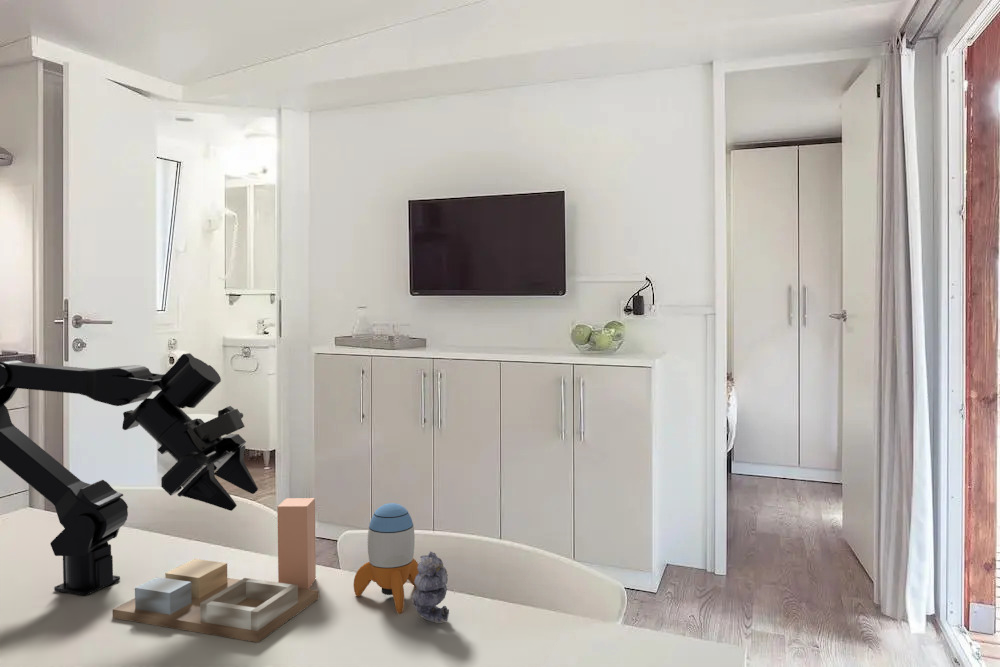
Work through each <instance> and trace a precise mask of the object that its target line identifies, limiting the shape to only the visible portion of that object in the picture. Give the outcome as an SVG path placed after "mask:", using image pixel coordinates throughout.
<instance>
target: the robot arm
mask: <svg viewBox="0 0 1000 667" xmlns="http://www.w3.org/2000/svg"><path fill="white" fill-rule="evenodd" d="M221 381H222V379H221V376H220V374H219V373H218V372H217V370H216V369H215V368H214V367H213V366H211V364H210V365H209V364H208V363H206V362H204V361H203V360H201V359H200V358H197V357H195V356H193V354H192V353H183V354H182V355H180V356H179V358H178V359H177V360H176V362H175V363H174V365H172V367H170V368H169V369H168V370H167V372H166V373H165V374H162V373H161V374H160V373H154V372H151V371H150V368H148V367H146V366H145V365H140V364H134V365H122V366H113V367H102V368H88V367H87V368H86V367H77V366H66V365H56V364H44V363H33V362H24V361H21V360H17V359H16V360H7V361H6V360H5V361H0V462H1V463H2V464H3V465H4V466H6V467H7V468H8V469H10V470H11V471H12V472H13V473H14V474H16V475H17V476H18V477H19V478H21V479H22V480H23V481H24V482H25V483H26V484H28V485H29V486H30V487H31V488H33V490H35V491H36V492H38V493H39V494H40V495H41V496H43V498H44V499H46V500H48V501H49V503H50V504H52V505H53V506H54V508H55V511H56V515H57V519H58V521H59V523H60V525H61V526H62V527H63V529H62V530H61V532H60V533H59V534H58V535H56V536H55V537H54V538H53V540H52V541H50V547H51V550H52V552H53V555H54V556H55V557H62V571H63V572H62V575H63V576H62V577H63V581H62V582H63V583H60V584H58V585H56V586H54V587H53V590H54V591H56V592H62V593H67V594H73V595H80V596H87V595H90V594H92V593H94V592H96V591H98V590H101V589H102V588H105V587H107V586H109V585H112V584H114V583H115V582H118V581H120V580H121V576H119V575H115V574H114V566H113V565H114V564H113V563H114V562H113V561H114V560H113V558H114V557H113V555H112V545H111V544H109V541H111V540H113V539H116V538H117V537H118V534H119V531H120V528H121V527H123V526H124V525H125V523H126V521H127V520H128V515H129V512H128V508H129V506H128V503H127V502H126V500H124V499H123V498H122V497H124V493H121V492H118V491H117V490H115V489H114V488H113V487H112V486H111V485H110V484H109V483H108V482H107V481H106V480H104V479H100V480H98V481H96V482H93V483H87V482H85V481H83V480H81V479H80V478H78V477H77V476H75V474H74V473H72V472H71V471H70V470H69V469H67V468H66V467H65V466H64V465H63V464H61V463H60V462H59V461H57V459H55V458H54V457H53V456H52V455H51V454H49V453H48V452H47V451H46V450H44V449H43V448H42V447H41V446H40V445H39V444H37V443H36V442H35V441H34V440H32V439H31V438H30V437H29V436H27V435H26V434H25V433H24V432H23V431H21V430H20V429H19V428H18V427H16V426H15V424H13V422H12V419H11V416H10V412H9V410H8V407H7V406H6V404H7V403H8V402H9V401H11V399H12V398H13V397H14V395H15V394H16V392H17V390H18V389H20V390H21V389H23V390H33V391H44V392H55V393H66V394H76V395H80V396H84V397H88V398H90V400H93V401H94V402H95V401H96V402H100V403H103V404H107V405H111V406H115V407H120V406H125V405H130V404H134V403H138V402H141V403H140V404H139V405H137V407H135V409H132V410H131V409H129V410H126V411H124V412H123V413H122V415H123V422H122V430H123V431H127V430H130V429H134V428H137V427H139V426H140V427H141V428H142V429H143V430H144V431H145V432H146V433H148V434H149V436H151V438H152V439H154V440H155V441H156V442H157V444H159V445H160V446H159V448H157V451H158V453H159V454H160V455H164V454H166V453H168V454H169V455H170V456H171V457H172V458H173V459H174V460H175V461H176V463H174V465H173V466H172V467H170V468H169V469H168V471H167V472H166V473H165V474H164V475H162V477H161V480H160V481H161V486H160V487H161V488H162V489H163V490H164V491H165V492H166V493H167V494H168V495H169V496H173V495H175V494H176V493H177V496H178V497H179V498H181V497H184V498H189V499H192V500H195V501H199V502H203V503H206V504H208V505H212V506H215V507H218V508H221V509H224V510H228V511H233V510H234V509H235V508H236V507H237V503H236V502H235V501H234V499H233V498H232V496H231V495H230V494H229V492H227V490H226V489H225V487H223V485H222V484H221V482H219V480H218V479H217V478H216V477H218V478H220V479H222V480H224V481H225V482H227V483H230V484H231V485H234V486H236V487H237V488H239V489H241V490H243V491H246V492H248V493H249V494H252V495H254V494H256V493H257V491H258V490H259V488H258V486H257V484H256V481H255V480H254V478H253V476H252V475H251V472H250V471H249V469H248V467H247V464H246V463H245V460H244V458H245V450H246V449H247V448H246V442H247V441H246V440H245V439H244V438H243V437H242V436H241V435H240V434H238V433H235V432H237V431H238V430H242V429H243V428H245V423H244V422H243V417H244V414H243V413H242V412H240V411H239V409H238V408H236V409H235V408H234V407H232V406H231V405H229V406H226V407H225V408H223V409H220V410H218V411H217V417H215V418H212V419H210V420H208V421H204V420H202V419H201V418H194V419H192V418H191V417H190V416H189V415H188V414H187V413H186V412H185V411H184V410H183V409H186V408H189V409H194V408H196V407H197V406H198V405H199V404H200V403H201V402H202V401H203V400H204V399H205V398H206V396H208V395H209V394H210V393H211V392H212V390H214V389H215V388H216V387H217V386H218V384H220V382H221ZM158 391H159V392H158ZM154 392H158V393H157V394H155V396H154V397H152V398H150V396H151V395H152V394H153V393H154ZM223 436H224V437H223Z"/></svg>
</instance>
